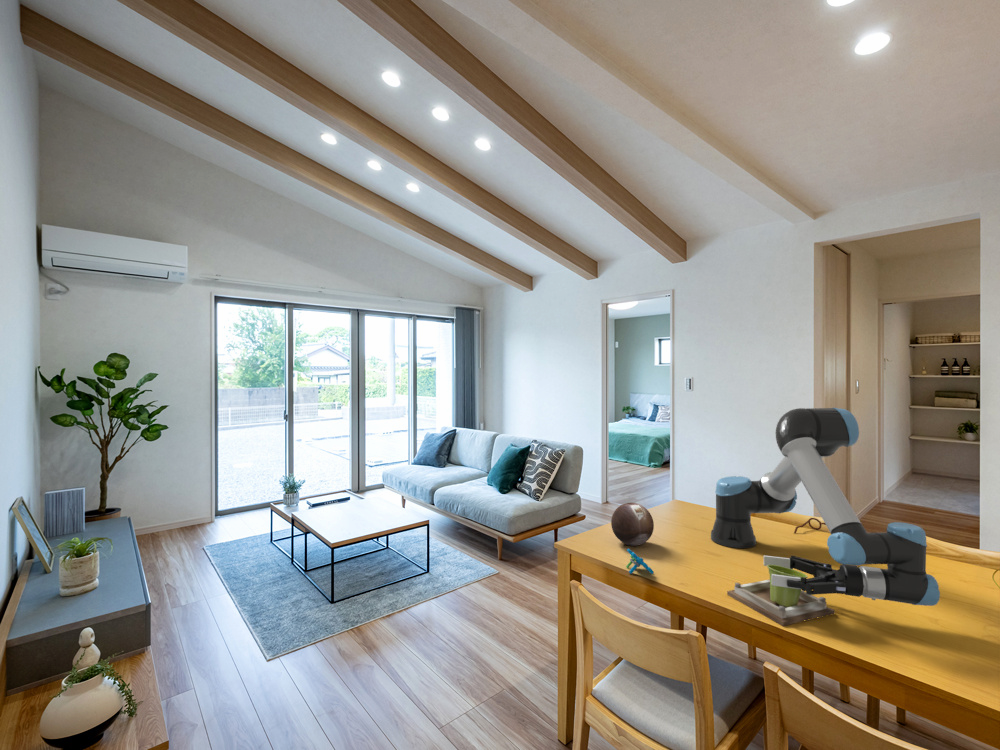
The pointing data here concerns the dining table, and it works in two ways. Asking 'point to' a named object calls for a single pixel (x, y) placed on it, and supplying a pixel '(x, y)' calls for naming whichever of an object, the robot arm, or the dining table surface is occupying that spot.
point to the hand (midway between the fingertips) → (767, 569)
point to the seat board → (760, 601)
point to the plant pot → (784, 594)
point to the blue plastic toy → (637, 562)
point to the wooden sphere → (632, 524)
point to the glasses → (810, 524)
